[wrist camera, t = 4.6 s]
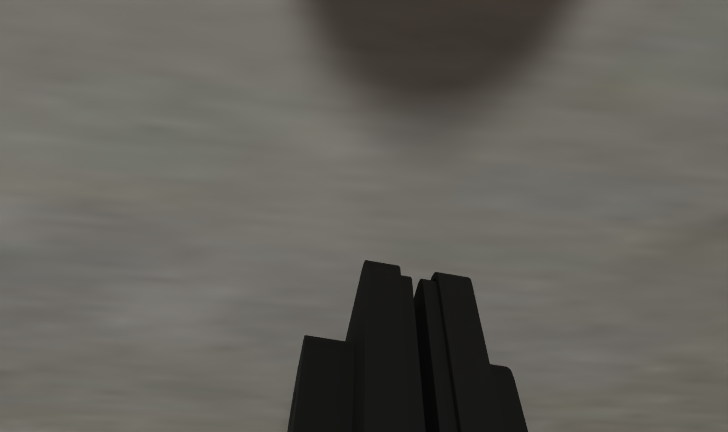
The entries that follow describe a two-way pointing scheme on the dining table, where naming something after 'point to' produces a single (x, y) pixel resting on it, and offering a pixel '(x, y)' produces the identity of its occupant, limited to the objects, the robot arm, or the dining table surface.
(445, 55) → the dining table surface
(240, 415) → the dining table surface
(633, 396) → the dining table surface
